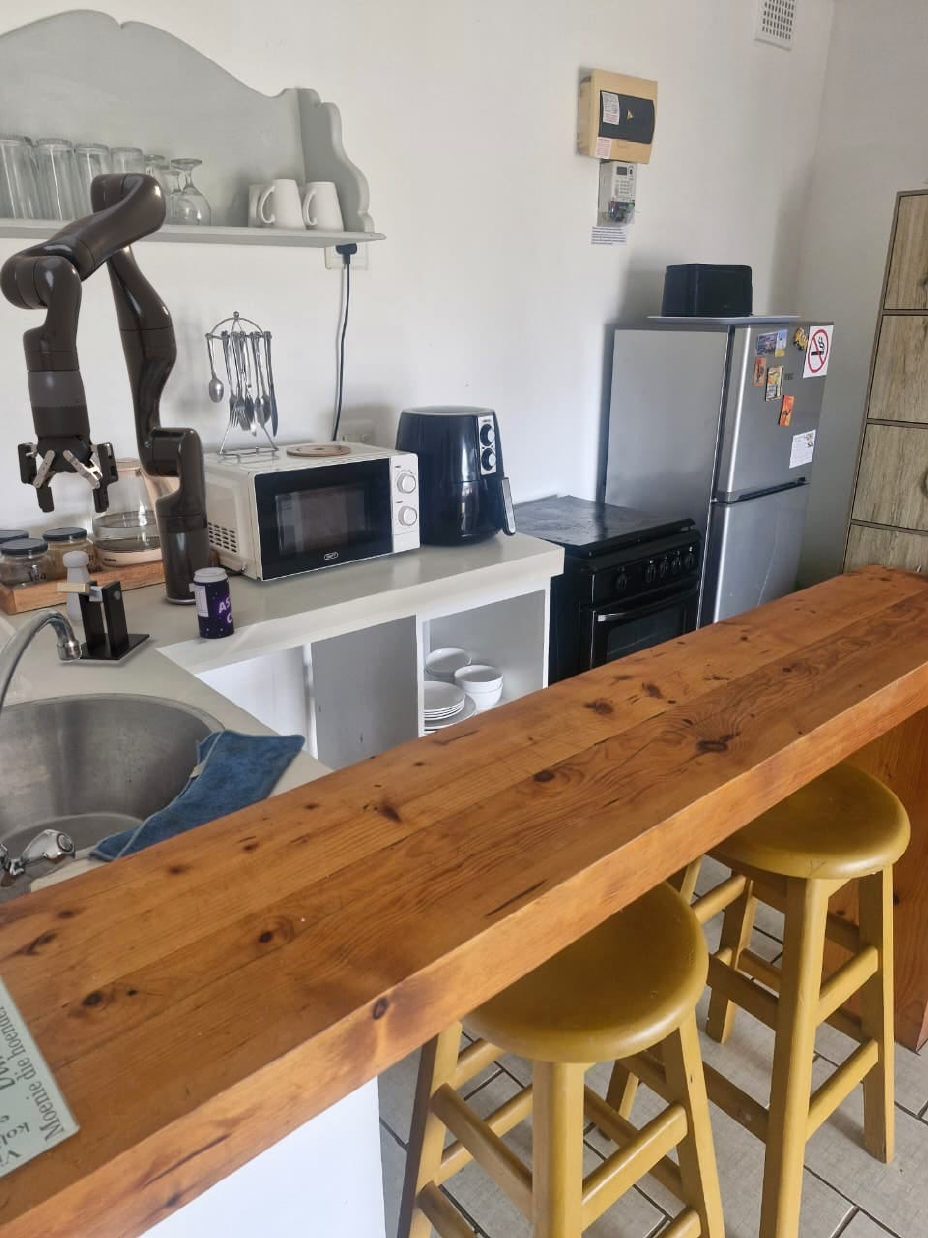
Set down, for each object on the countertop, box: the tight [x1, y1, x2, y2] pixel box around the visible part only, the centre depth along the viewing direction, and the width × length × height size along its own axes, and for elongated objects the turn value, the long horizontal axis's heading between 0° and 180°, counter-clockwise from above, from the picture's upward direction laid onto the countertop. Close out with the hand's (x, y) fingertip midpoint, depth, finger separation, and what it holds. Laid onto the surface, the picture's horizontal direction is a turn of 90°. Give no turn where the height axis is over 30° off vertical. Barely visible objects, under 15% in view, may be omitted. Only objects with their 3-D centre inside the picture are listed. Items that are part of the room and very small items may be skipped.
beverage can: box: [193, 567, 235, 640], centre depth 148 cm, size 6×6×12 cm
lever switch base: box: [78, 579, 150, 661], centre depth 142 cm, size 11×9×12 cm
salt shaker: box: [62, 550, 92, 622], centre depth 157 cm, size 6×6×13 cm
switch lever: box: [56, 582, 104, 604], centre depth 137 cm, size 10×4×2 cm, turn 173°
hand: (74, 512), depth 132 cm, fingers open, 8 cm apart
